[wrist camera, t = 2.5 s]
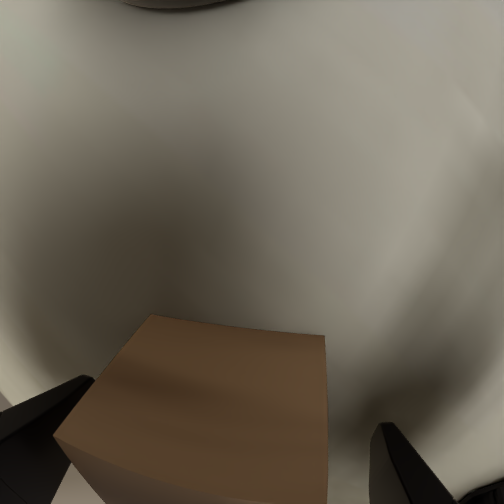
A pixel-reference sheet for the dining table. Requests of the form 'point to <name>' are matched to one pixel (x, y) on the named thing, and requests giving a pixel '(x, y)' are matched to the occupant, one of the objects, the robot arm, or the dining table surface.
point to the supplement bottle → (169, 3)
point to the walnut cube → (205, 418)
